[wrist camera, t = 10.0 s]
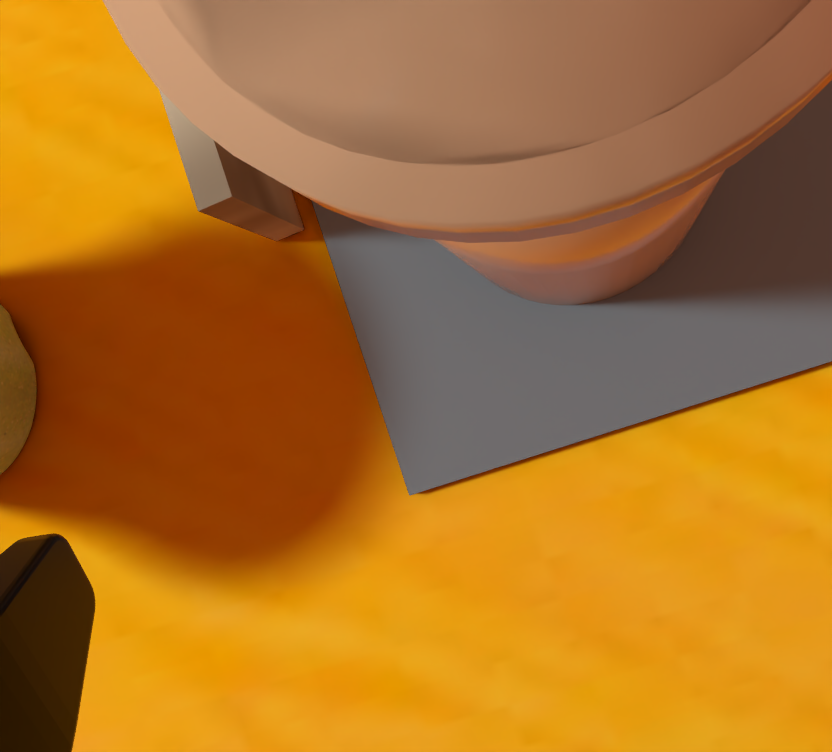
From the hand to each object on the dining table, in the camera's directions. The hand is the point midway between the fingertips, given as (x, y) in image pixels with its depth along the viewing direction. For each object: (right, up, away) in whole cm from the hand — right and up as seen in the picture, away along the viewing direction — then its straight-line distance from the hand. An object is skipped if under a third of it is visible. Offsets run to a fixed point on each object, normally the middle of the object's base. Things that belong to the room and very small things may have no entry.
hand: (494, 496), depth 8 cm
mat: (+3, +6, +10) cm, 12 cm away
